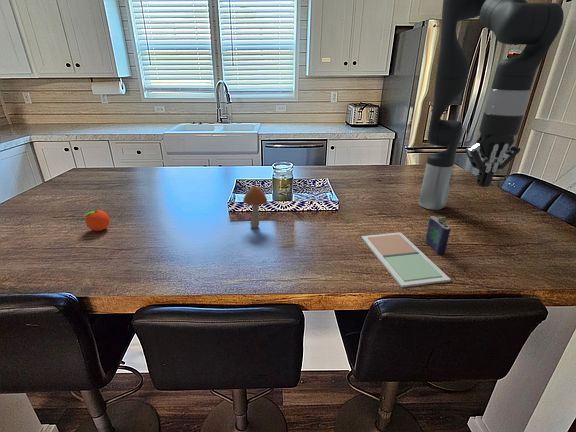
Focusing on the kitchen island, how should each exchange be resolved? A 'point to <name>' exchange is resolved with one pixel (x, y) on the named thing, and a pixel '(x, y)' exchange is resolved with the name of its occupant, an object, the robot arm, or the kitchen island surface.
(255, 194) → the mushroom
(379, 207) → the kitchen island surface
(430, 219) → the flask
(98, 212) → the clementine
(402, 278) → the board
